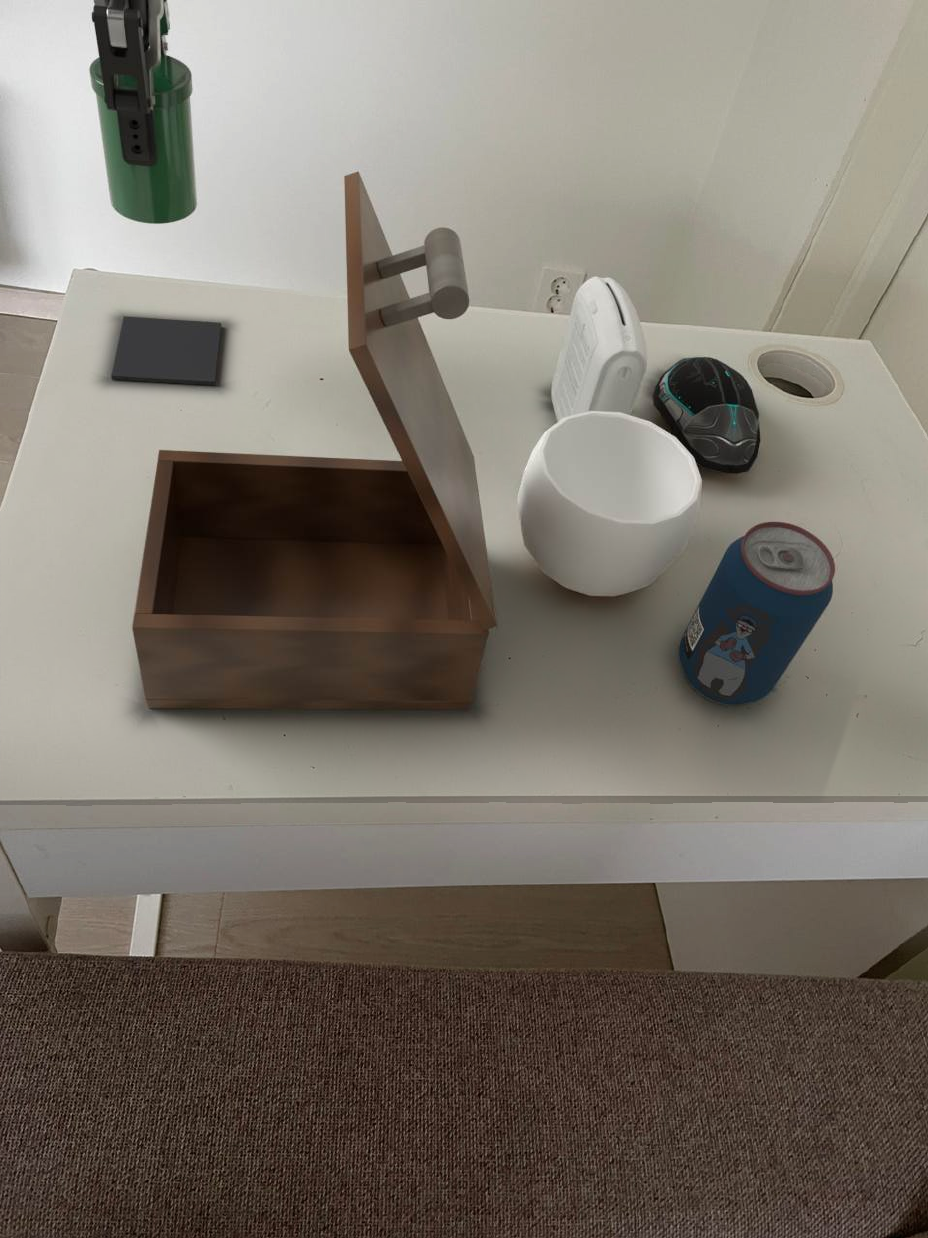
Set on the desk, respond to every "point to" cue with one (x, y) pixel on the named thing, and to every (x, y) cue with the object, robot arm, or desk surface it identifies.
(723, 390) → the computer mouse
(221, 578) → the wooden box
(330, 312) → the desk surface
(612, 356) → the photo printer
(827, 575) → the soda can
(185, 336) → the mat
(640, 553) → the cup
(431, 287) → the lid
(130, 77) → the green pot
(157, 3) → the robot arm
